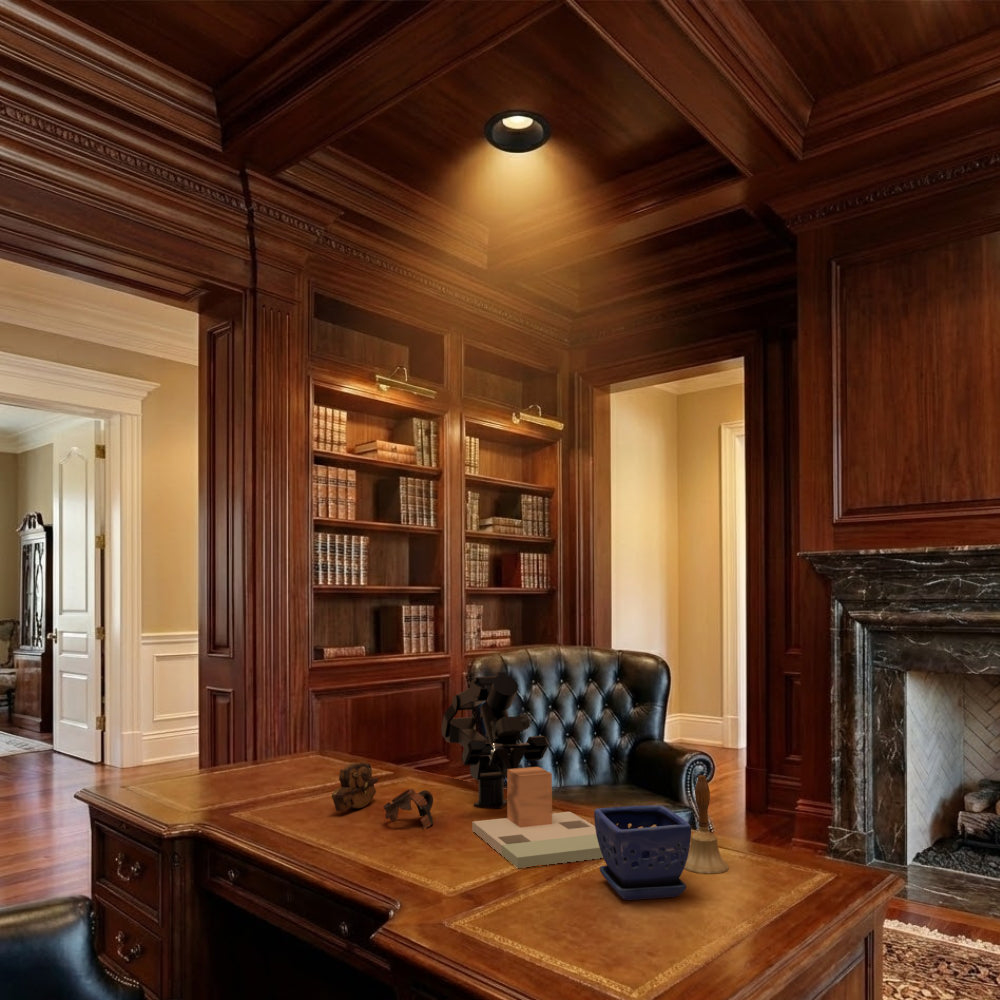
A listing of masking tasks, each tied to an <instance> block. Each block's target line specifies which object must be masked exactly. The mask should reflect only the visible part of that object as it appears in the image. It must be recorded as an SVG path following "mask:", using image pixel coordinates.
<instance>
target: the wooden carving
mask: <svg viewBox="0 0 1000 1000" xmlns="http://www.w3.org/2000/svg"><path fill="white" fill-rule="evenodd" d="M372 769H373V768H372V766H371V764H370V763H369V762H368V763H365V762H360V761H359V762H349V763H348V764H346V765H345V766H344V767H343V768H342V769H340V770H339V775H338V779H339V782H340V787H337V788H335V789H334V790H333V792H332V794H331V799H332V800H333V803H334V808H335V811H336V812H343V811H344V812H346V811H348V810H353V809H362V808H364V807H366V806H367V805H368V804H369V803H371V801H372V800H373V799H374V797H375V795H376V793H377V789H376V787H375V784H377V783H378V782H379V777H374V776H373V774H372V773H373V770H372Z"/></svg>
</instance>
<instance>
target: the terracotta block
mask: <svg viewBox="0 0 1000 1000" xmlns="http://www.w3.org/2000/svg"><path fill="white" fill-rule="evenodd" d="M552 777H553V774H552V772H549V771H548V770H546V769H545V768H542V767H539V766H530V767H529V766H528V767H518V768H516V769H507V779H506V780H507V781H506V782H507V783H506V784H507V786H506V789H507V790H506V791H507V795H506V796H507V797H506V800H507V803H506V804H507V805H506V806H507V807H506V808H507V809H506V810H507V811H506V814H507V815H506V818H507V819H509V820H510V821H511V822H513V823H514V824H516V825H517V826H519V827H529V826H539V825H548V824H552V813H553V791H552V790H553V789H552V788H553V785H552V783H553V781H552V780H553V778H552Z"/></svg>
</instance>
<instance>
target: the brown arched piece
mask: <svg viewBox="0 0 1000 1000" xmlns="http://www.w3.org/2000/svg"><path fill="white" fill-rule="evenodd" d="M412 801H413V802H414V803H415V805H416V807H417V811H418V813H419V814H418V815H419V817H422V818H420V823H421V825H422V827H423V829H424V828H426V829H428V828H429V827H431V825H433V823H434V821H433V817H432V813H431V810H432V807H433V803H434V797H433V794H432V792H431V791H429V790H426V789H424V790H422V791H420V792H418V793H417V792H415V790H414V788H409V789H407V790H404V791H403V792H402V793H399V794H398V795H397V796H395V797H394V798H393V799H391V802H392V803H391V802H389V801H388V802H387V803H385V805H384V806H383V809H384V810H385V819H386V820H388V819H389V820H390V821H391V822H392V821H394V820H395V821H396V820H397V819H398V814H399V809H401V810H404V811H411V810H413V808H412V806H411V805H412V804H411V803H412ZM395 821H394V822H395ZM427 827H428V828H427Z"/></svg>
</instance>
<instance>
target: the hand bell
mask: <svg viewBox="0 0 1000 1000" xmlns="http://www.w3.org/2000/svg"><path fill="white" fill-rule="evenodd" d="M697 776H698V777H697V780H696V784H695V789H694V794H695V802H696V805H697V810H698V831H697V832H694V833H691V841H690V848H689V853H688V858H687V861H686V864H685V867H684V870H686V871H688V870H689V871H688V872H691V871H693V872H692V873H696V872H697V873H696V874H701V873H703V875H714V874H713V873H719V874H722V872H723V873H726V871H728V870H729V865H728V863H727V862H726V861H725V860H724V859H723V857H722V856H721V853H720V850H719V846H718V837H717V836H716V835H715V834H713V833H712V832H710V830H709V829H710V828H709V818H708V817H709V816H708V809H709V806H710V799H711V793H710V787H709V783H708V781H707V777H706V775H704V774H700V775H697Z"/></svg>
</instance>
